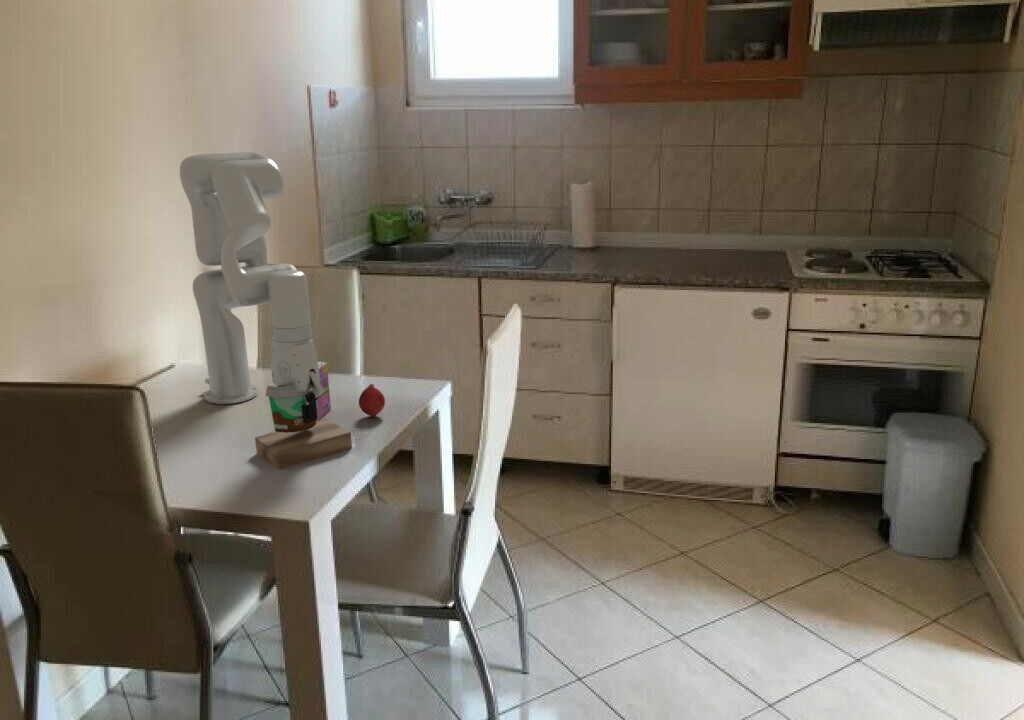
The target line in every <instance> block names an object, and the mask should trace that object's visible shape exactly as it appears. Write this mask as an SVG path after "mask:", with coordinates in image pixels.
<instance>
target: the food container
mask: <svg viewBox="0 0 1024 720" xmlns="http://www.w3.org/2000/svg"><path fill="white" fill-rule="evenodd" d="M311 387H312V385H311V384H309V385H308V388H307V390H305V391H306V393H307V397H308V396H309V395H310V394H311V392H313V390H311V391H309V390H310V388H311ZM302 395H304V392H302V393H298V392H296V390H295V388H294V386H286V387H283V386H278V387H277V386H275V385H274V386H273V385H267V386H266V390H265V396H266V397H268V400H269V405H270V410H271V416H272V421H273V426H274V432H285V433H289V432H299V431H304V430H307V429H310V428H312V427H314V426H315V425H316V420H315V421H312V422H310V423H307V424H305V423H303V414H302V405H304V403H303V400H302ZM316 404H317V402H316Z"/></svg>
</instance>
